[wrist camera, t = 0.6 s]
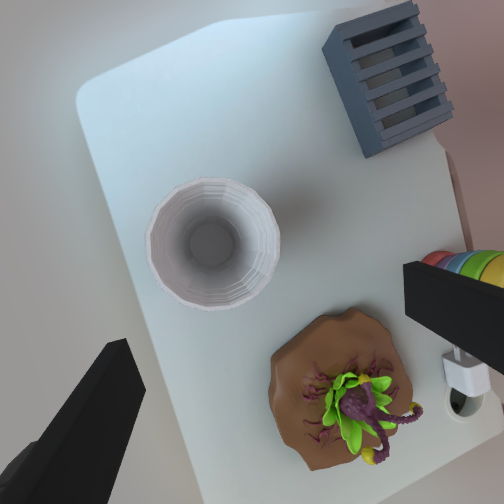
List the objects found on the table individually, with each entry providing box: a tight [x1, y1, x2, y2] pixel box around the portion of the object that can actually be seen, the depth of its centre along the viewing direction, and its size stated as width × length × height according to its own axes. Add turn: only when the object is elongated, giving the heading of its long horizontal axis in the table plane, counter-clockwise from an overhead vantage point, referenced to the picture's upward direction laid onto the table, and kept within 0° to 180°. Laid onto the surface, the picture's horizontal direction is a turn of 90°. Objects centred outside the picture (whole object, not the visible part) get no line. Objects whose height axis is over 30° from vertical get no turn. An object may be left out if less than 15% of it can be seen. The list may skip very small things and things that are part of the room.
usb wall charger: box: [442, 344, 491, 397], centre depth 36 cm, size 4×7×4 cm, turn 12°
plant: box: [268, 307, 423, 471], centre depth 29 cm, size 20×20×11 cm
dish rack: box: [322, 0, 454, 158], centre depth 33 cm, size 16×12×4 cm
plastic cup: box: [145, 177, 280, 311], centre depth 25 cm, size 11×11×12 cm
